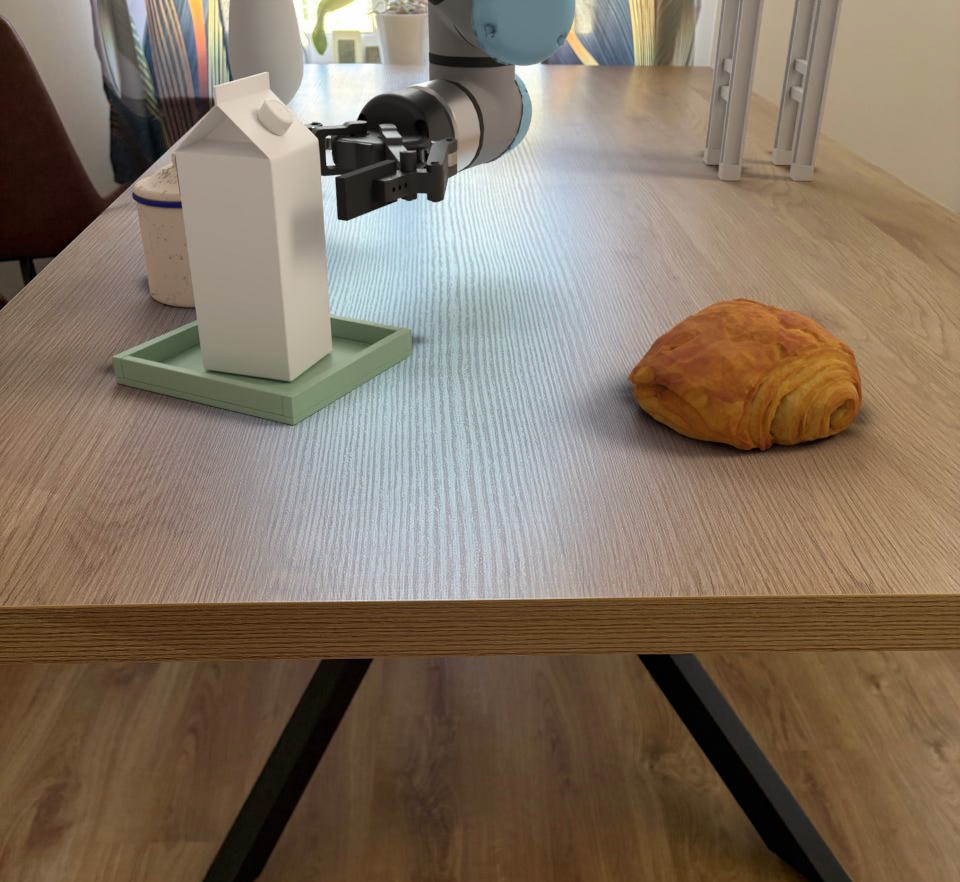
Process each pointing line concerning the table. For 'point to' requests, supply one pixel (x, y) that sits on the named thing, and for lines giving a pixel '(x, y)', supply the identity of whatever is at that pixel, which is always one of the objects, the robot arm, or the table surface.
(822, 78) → the grey tall open frame
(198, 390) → the drinks tray
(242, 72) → the wineglass
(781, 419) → the croissant
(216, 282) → the milk carton
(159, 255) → the teacup with lid
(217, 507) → the table surface
